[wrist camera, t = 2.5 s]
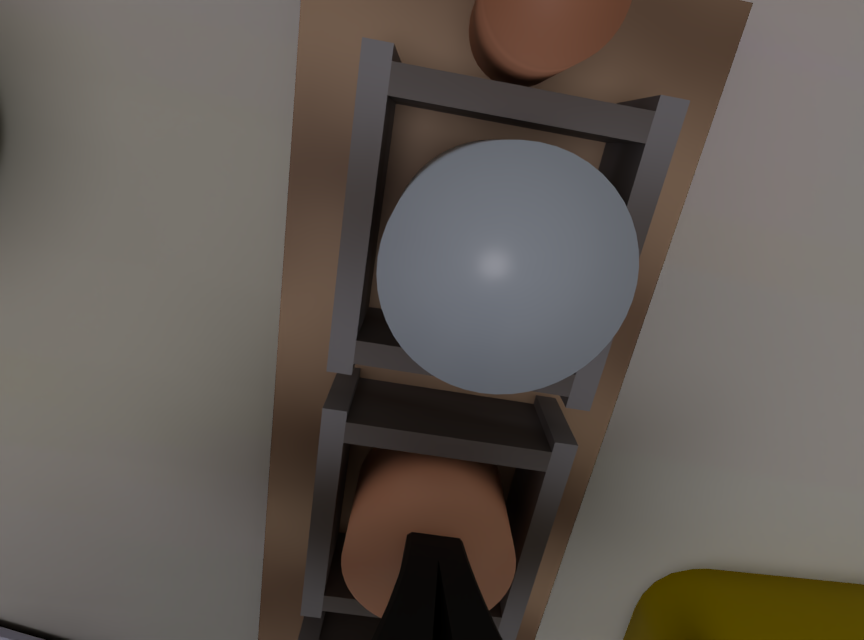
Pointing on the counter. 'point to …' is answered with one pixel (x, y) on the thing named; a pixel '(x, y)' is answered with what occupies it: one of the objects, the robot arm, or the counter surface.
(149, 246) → the counter surface
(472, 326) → the slate button
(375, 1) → the panel
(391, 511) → the terracotta button
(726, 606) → the element tile
